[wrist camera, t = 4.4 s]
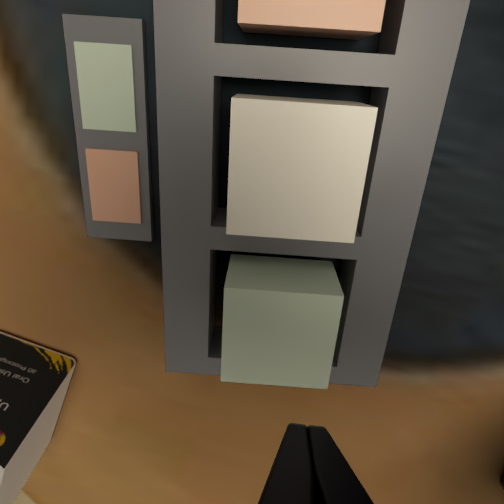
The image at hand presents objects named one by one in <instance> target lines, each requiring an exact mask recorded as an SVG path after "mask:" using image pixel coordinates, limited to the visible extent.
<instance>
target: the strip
mask: <svg viewBox="0 0 504 504" xmlns="http://www.w3.org/2000/svg"><path fill="white" fill-rule="evenodd" d="M62 19H63V28H64V37H65V45H66V54H67V63H68V71H69V80H70V89H71V98H72V106H73V115H74V124H75V132H76V141H77V150H78V159H79V167H80V176H81V185H82V193H83V202H84V211H85V220H86V228H87V237H96V238H110V239H124V240H138V241H152V240H153V239H154V230H153V206H152V182H151V158H150V134H149V110H148V86H147V62H146V38H145V20H143V19H133V18H118V17H103V16H88V15H73V14H62Z"/></svg>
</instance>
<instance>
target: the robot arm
mask: <svg viewBox="0 0 504 504" xmlns="http://www.w3.org/2000/svg"><path fill="white" fill-rule="evenodd" d="M500 483H501V485H502V487H503V489H504V472H503V474H502V476H501V479H500ZM258 504H374V503H373V502H372V500H371V498H370V497H369V495H368V494H367V492H366V491H365V489H364V488H363V486H362V484H361V483H360V481H359V480H358V478H357V477H356V475H355V473H354V472H353V470H352V469H351V467H350V466H349V464H348V462H347V461H346V459H345V458H344V456H343V455H342V453H341V451H340V450H339V448H338V447H337V445H336V444H335V442H334V440H333V439H332V437H331V436H330V434H329V433H328V431H327V430H326V428H324V427H322V426H313V425H309V426H307V427H306V426H305V425H303V424H295V423H290V424H289V425H288V426H287V429H286V432H285V434H284V437H283V439H282V442H281V445H280V447H279V450H278V452H277V455H276V458H275V460H274V463H273V465H272V468H271V471H270V473H269V476H268V479H267V481H266V484H265V486H264V489H263V492H262V494H261V497H260V499H259V502H258Z"/></svg>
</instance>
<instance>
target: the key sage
mask: <svg viewBox="0 0 504 504" xmlns="http://www.w3.org/2000/svg"><path fill="white" fill-rule="evenodd" d="M343 300H344V294H343V291H342V288H341V285H340V283H339V280H338V277H337V274H336V271H335V268H334V265H333V262H332V261H322V260H308V259H294V258H280V257H266V256H252V255H238V254H231V256H230V261H229V266H228V271H227V276H226V280H225V285H224V302H223V328H222V354H221V381H223V382H237V383H250V384H263V385H277V386H290V387H304V388H317V389H328V384H329V378H330V372H331V367H332V361H333V356H334V350H335V345H336V339H337V334H338V328H339V322H340V317H341V311H342V306H343Z"/></svg>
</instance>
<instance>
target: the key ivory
mask: <svg viewBox="0 0 504 504" xmlns="http://www.w3.org/2000/svg"><path fill="white" fill-rule="evenodd" d="M377 112H378V107H374V106H371V105H367V104H364V103H361V102H356V101H341V100H326V99H312V98H297V97H282V96H268V95H253V94H236V95H235V96H233V97H231V117H230V143H229V170H228V196H227V222H226V234H230V235H244V236H258V237H272V238H286V239H300V240H314V241H328V242H342V243H354V239H355V234H356V228H357V223H358V217H359V211H360V206H361V200H362V195H363V189H364V184H365V178H366V173H367V167H368V161H369V156H370V150H371V145H372V139H373V134H374V128H375V123H376V117H377Z"/></svg>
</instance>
